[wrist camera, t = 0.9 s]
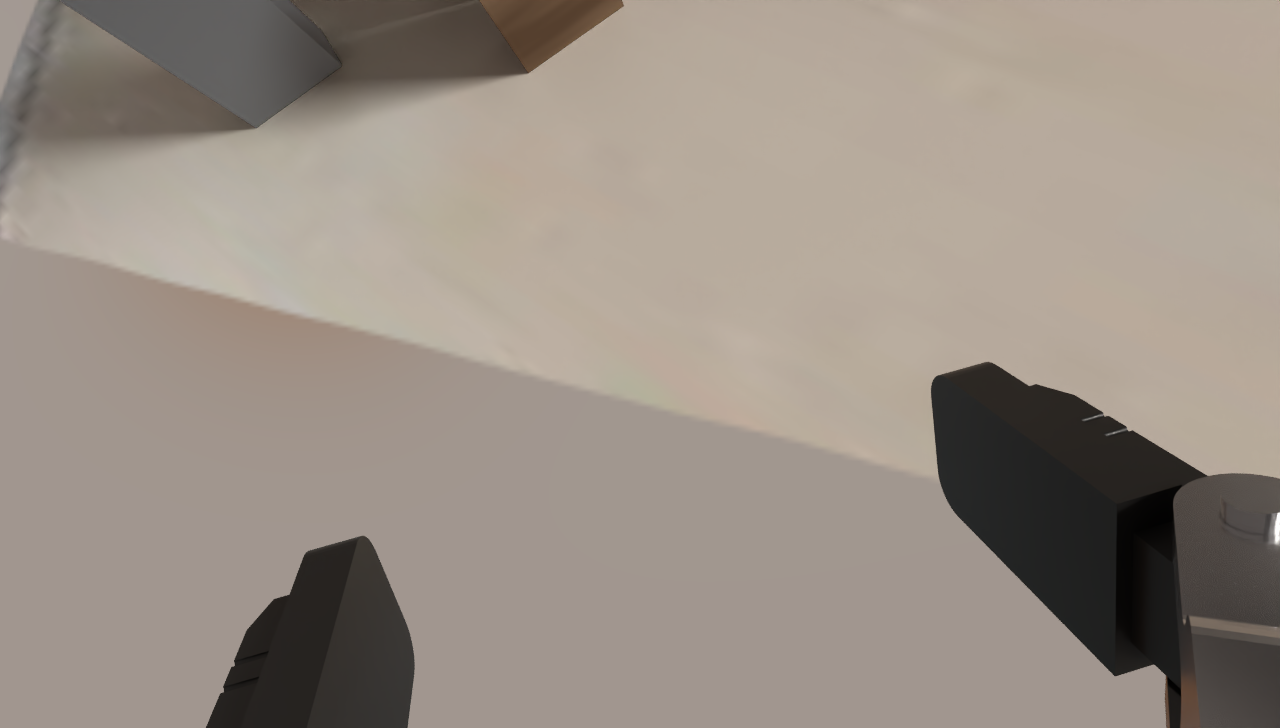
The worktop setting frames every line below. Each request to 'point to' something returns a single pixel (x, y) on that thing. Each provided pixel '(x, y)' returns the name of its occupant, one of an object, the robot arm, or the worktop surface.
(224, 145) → the worktop surface
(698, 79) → the worktop surface
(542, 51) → the domino
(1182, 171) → the worktop surface
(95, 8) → the gray domino
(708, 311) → the worktop surface
